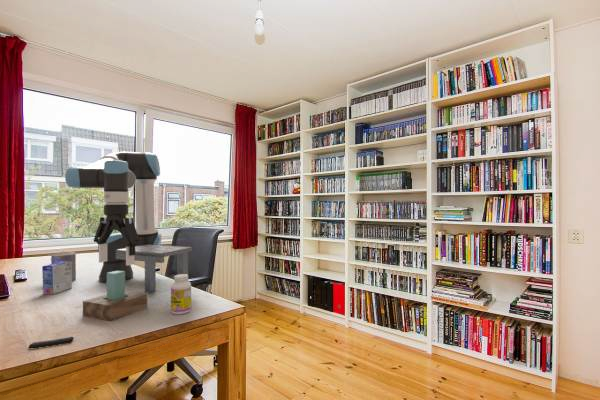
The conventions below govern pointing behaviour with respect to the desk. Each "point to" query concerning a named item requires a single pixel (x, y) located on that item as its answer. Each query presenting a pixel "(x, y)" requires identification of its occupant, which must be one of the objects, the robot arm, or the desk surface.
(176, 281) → the supplement bottle
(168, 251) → the grey step stool
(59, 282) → the ink cartridge box
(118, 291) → the peg
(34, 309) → the desk surface
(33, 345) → the usb stick
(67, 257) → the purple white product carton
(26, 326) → the desk surface
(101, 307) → the socket block
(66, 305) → the desk surface
